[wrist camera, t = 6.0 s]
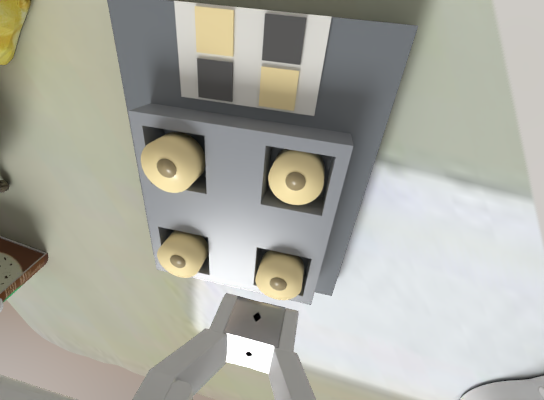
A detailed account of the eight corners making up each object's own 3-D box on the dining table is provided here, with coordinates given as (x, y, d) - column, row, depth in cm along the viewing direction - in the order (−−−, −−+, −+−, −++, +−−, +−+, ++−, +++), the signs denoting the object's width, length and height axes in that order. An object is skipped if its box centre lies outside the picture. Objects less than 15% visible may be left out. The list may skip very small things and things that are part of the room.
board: (410, 27, 19) (433, 22, 14) (331, 282, 32) (331, 318, 28) (124, -2, 21) (72, -14, 17) (162, 245, 35) (138, 273, 31)
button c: (329, 149, 22) (329, 160, 20) (319, 195, 24) (318, 210, 22) (276, 140, 22) (270, 150, 20) (271, 186, 25) (265, 200, 22)
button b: (208, 233, 27) (197, 249, 25) (209, 265, 29) (199, 282, 27) (167, 224, 27) (153, 240, 25) (171, 256, 30) (159, 273, 27)
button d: (204, 136, 22) (191, 146, 19) (206, 184, 24) (194, 197, 22) (154, 127, 22) (135, 136, 20) (161, 175, 24) (144, 188, 22)
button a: (307, 253, 26) (305, 272, 23) (300, 285, 28) (297, 305, 26) (262, 244, 26) (256, 262, 24) (259, 276, 28) (253, 294, 26)
